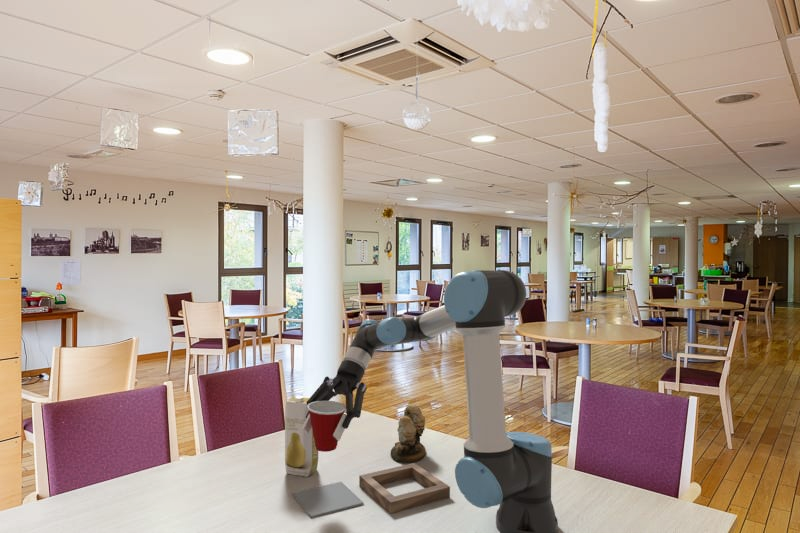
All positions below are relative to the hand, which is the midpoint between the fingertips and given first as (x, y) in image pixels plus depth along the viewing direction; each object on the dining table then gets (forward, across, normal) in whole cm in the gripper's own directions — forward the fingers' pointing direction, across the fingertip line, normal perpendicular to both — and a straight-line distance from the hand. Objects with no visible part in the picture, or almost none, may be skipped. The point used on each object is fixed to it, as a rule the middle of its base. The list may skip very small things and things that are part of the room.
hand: (320, 434), depth 143 cm
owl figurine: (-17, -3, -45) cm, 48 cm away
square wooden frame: (+1, -16, -26) cm, 31 cm away
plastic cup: (+1, 0, -6) cm, 6 cm away
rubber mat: (+11, 0, -15) cm, 19 cm away
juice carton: (+4, +18, -23) cm, 29 cm away
